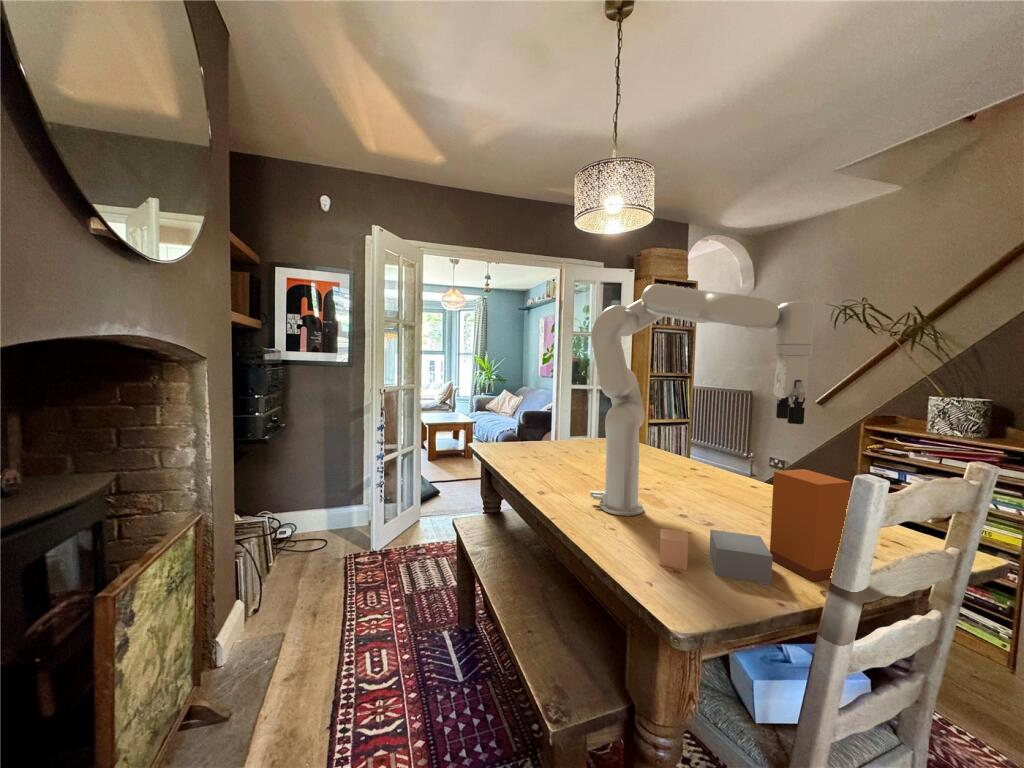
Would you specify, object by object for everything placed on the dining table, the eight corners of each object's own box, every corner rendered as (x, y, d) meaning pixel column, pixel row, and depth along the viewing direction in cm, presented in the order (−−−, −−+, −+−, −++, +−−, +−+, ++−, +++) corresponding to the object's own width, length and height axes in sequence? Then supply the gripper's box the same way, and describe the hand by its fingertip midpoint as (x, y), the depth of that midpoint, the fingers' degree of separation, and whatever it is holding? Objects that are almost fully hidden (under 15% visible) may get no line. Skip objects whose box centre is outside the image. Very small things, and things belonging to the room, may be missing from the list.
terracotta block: (659, 565, 89) (660, 538, 88) (659, 554, 94) (660, 528, 94) (687, 570, 87) (688, 542, 86) (685, 558, 92) (686, 532, 92)
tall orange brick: (847, 576, 85) (853, 481, 84) (813, 582, 82) (819, 484, 81) (801, 554, 95) (805, 468, 93) (769, 559, 92) (773, 471, 91)
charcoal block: (715, 576, 85) (716, 548, 84) (709, 555, 94) (710, 529, 94) (771, 586, 81) (772, 556, 81) (759, 562, 91) (760, 536, 90)
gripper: (766, 352, 111) (763, 415, 112) (786, 351, 95) (781, 425, 96) (799, 353, 108) (795, 417, 109) (825, 351, 92) (820, 427, 93)
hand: (789, 420), depth 103 cm, fingers open, 9 cm apart
